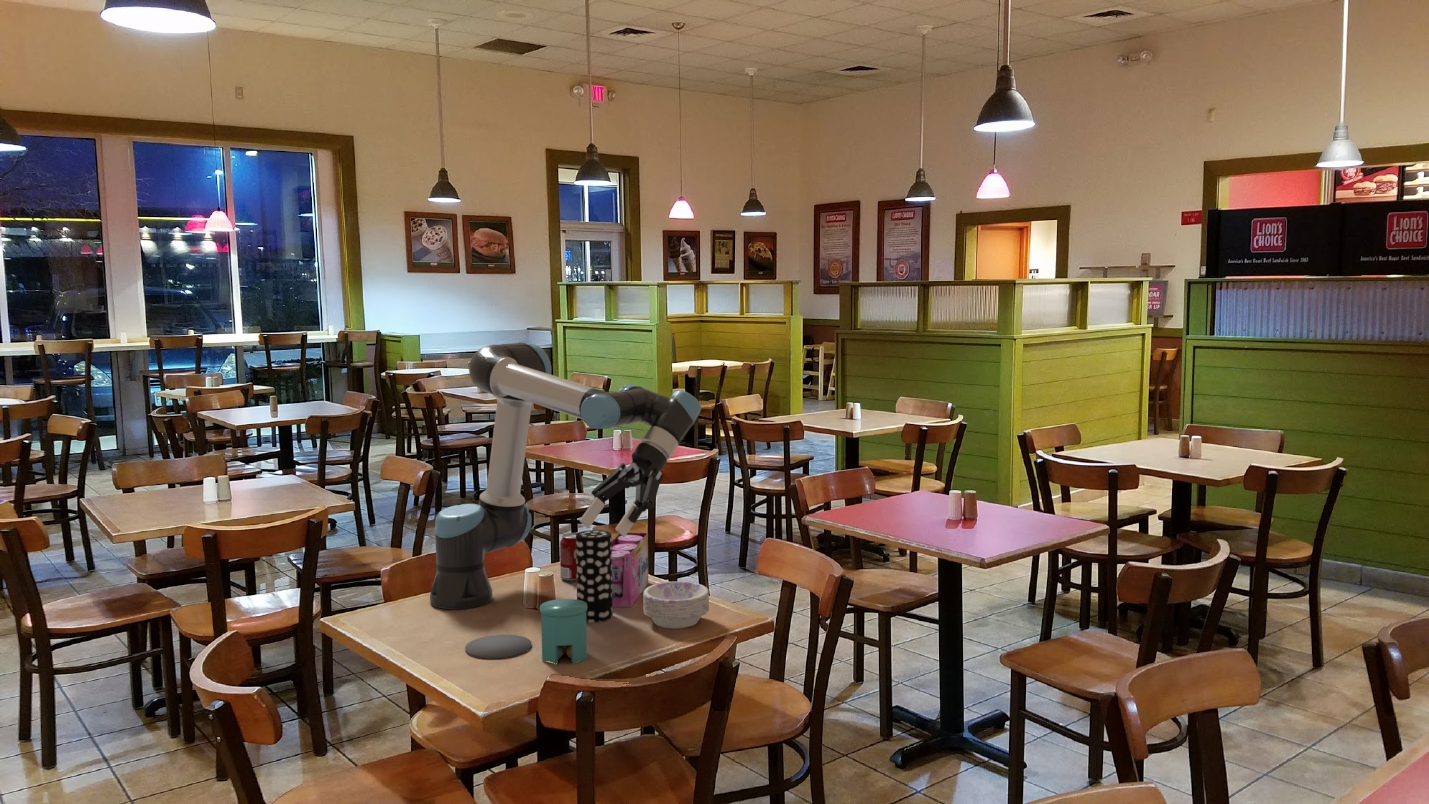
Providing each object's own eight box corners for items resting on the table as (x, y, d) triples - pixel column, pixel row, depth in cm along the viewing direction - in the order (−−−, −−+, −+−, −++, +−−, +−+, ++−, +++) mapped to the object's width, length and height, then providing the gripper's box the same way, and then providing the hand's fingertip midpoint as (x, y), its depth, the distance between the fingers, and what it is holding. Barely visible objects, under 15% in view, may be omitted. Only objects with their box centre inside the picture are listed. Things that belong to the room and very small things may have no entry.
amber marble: (563, 659, 215) (563, 645, 215) (569, 654, 218) (568, 641, 218) (577, 660, 214) (577, 646, 214) (582, 655, 217) (582, 642, 217)
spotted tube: (615, 612, 247) (614, 530, 245) (608, 623, 239) (607, 538, 237) (581, 611, 248) (580, 529, 246) (573, 621, 240) (572, 537, 238)
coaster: (453, 656, 217) (453, 653, 217) (483, 635, 231) (483, 632, 231) (515, 661, 214) (514, 658, 214) (541, 639, 228) (541, 636, 228)
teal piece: (541, 649, 221) (540, 600, 220) (587, 647, 222) (586, 597, 221) (540, 666, 211) (539, 613, 210) (588, 663, 213) (587, 611, 212)
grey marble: (546, 660, 215) (546, 646, 214) (552, 655, 217) (551, 641, 217) (560, 661, 214) (559, 647, 214) (565, 656, 217) (565, 642, 216)
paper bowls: (648, 635, 230) (647, 601, 229) (639, 615, 245) (639, 582, 244) (714, 631, 233) (714, 597, 232) (702, 611, 248) (702, 579, 247)
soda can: (567, 583, 272) (567, 539, 271) (556, 578, 277) (555, 534, 276) (590, 579, 276) (589, 535, 275) (578, 574, 281) (577, 531, 280)
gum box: (630, 609, 250) (629, 555, 248) (598, 608, 251) (597, 554, 249) (649, 582, 273) (648, 532, 272) (619, 581, 274) (619, 531, 273)
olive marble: (555, 655, 218) (554, 641, 217) (560, 650, 220) (560, 637, 220) (568, 656, 217) (568, 642, 217) (573, 651, 220) (573, 638, 219)
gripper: (699, 466, 222) (646, 547, 214) (631, 457, 241) (580, 531, 233) (679, 445, 218) (624, 526, 210) (611, 437, 237) (559, 511, 229)
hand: (601, 529), depth 221 cm, fingers open, 13 cm apart
